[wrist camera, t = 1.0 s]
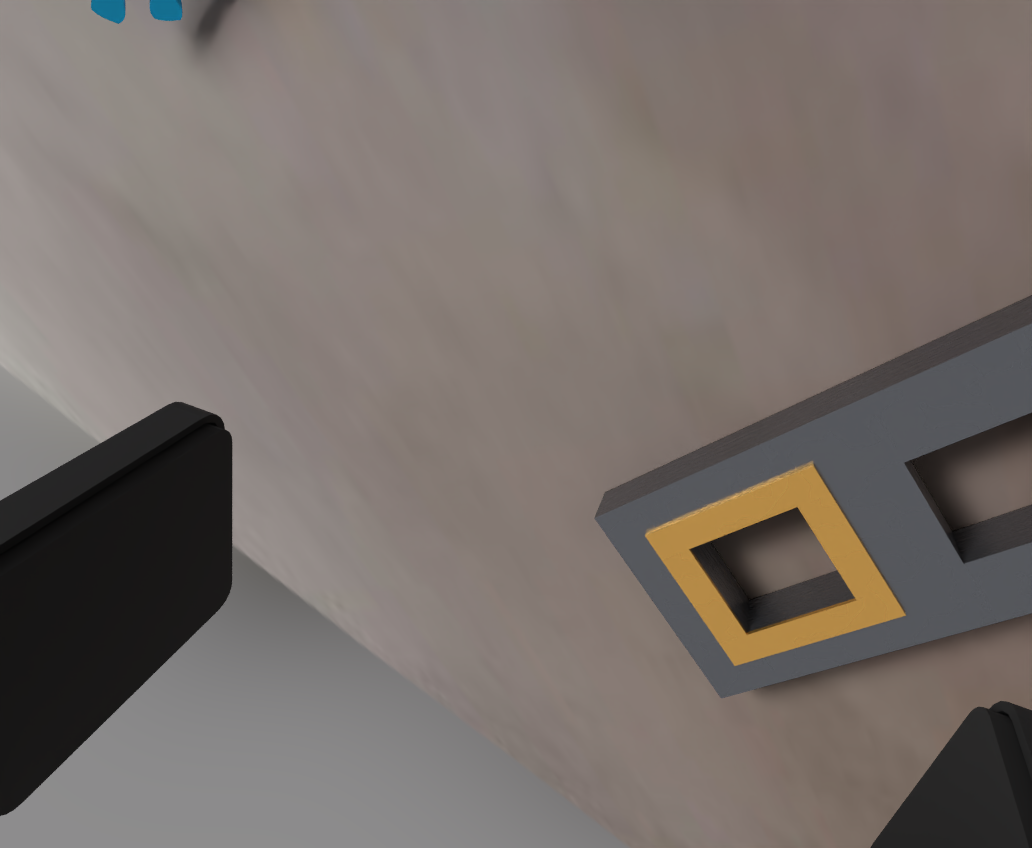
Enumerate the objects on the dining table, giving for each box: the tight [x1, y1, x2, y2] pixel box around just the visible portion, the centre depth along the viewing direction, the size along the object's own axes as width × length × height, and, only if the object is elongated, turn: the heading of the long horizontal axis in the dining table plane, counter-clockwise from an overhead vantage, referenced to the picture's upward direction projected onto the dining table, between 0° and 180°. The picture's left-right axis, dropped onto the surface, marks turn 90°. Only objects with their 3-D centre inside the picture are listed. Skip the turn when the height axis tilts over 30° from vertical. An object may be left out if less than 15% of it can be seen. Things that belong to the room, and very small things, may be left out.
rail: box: [595, 295, 1032, 698], centre depth 31 cm, size 32×12×3 cm, turn 126°
